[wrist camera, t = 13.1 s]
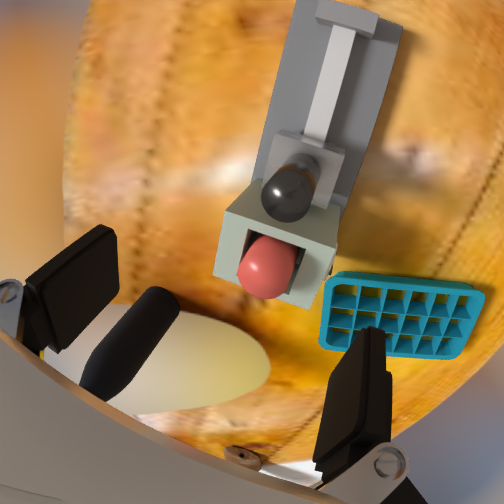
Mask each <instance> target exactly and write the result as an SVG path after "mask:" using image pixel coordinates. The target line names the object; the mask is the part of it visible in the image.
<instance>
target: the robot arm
mask: <svg viewBox="0 0 504 504" xmlns="http://www.w3.org/2000/svg"><path fill="white" fill-rule="evenodd" d="M25 282H26V285H25V286H23V285H22V283H21V282H20V281H18V280H16V279H6V280H3V281H1V282H0V504H428V503H427V502H426V501H425V499H424V498H423V497H422V495H421V494H420V493H419V492H418V490H417V489H416V488H415V487H414V485H413V484H412V483H411V481H410V480H409V479H408V477H407V474H408V472H409V468H410V461H409V458H408V455H407V453H406V452H405V450H404V449H403V448H402V447H400V446H399V445H397V444H395V443H390V441H391V423H392V374H391V372H389V371H386V333H385V330H382V329H379V328H376V327H373V326H368V327H367V329H366V328H362V329H361V330H360V332H359V333H358V335H357V336H356V338H355V339H354V341H353V342H352V344H351V345H350V347H349V348H348V350H347V351H346V353H345V354H344V356H343V357H342V359H341V360H340V362H339V363H338V364H337V366H336V367H335V369H334V370H333V372H332V373H331V375H330V378H329V381H328V387H327V392H326V398H325V403H324V408H323V413H322V418H321V423H320V428H319V432H318V437H317V441H316V446H315V450H314V454H313V460H312V461H313V462H314V463H316V467H315V471H319V472H323V474H322V478H321V479H322V481H323V482H322V483H320V484H319V485H318V486H316V487H315V488H313V489H312V488H309V487H306V486H302V485H299V484H296V483H293V482H290V481H286V480H283V479H279V478H276V477H273V476H270V475H266V474H263V473H260V472H257V471H254V470H251V469H248V468H246V467H243V466H240V465H237V464H234V463H231V462H229V461H226V460H223V459H221V458H218V457H216V456H213V455H210V454H208V453H206V452H203V451H201V450H198V449H196V448H194V447H191V446H189V445H187V444H184V443H182V442H180V441H178V440H176V439H174V438H171V437H169V436H167V435H165V434H163V433H161V432H159V431H157V430H155V429H153V428H151V427H149V426H147V425H145V424H143V423H141V422H139V421H137V420H136V419H134V418H132V417H130V416H128V415H126V414H124V413H123V412H121V411H119V410H118V409H116V408H114V407H112V406H111V405H109V404H107V403H106V402H104V401H102V400H101V399H99V398H97V397H96V396H94V395H93V394H91V393H90V392H88V391H86V390H85V389H83V388H82V387H80V386H79V385H77V384H76V383H74V382H73V381H71V380H70V379H68V378H67V377H65V376H64V375H62V374H61V373H60V372H58V371H57V370H56V369H54V368H53V367H51V366H50V365H48V364H47V363H46V362H44V349H45V348H46V347H47V346H48V347H49V348H50V349H51V350H53V351H54V352H56V353H57V354H59V352H60V351H61V350H62V349H66V348H67V347H69V345H70V344H71V343H72V342H73V341H74V340H75V339H76V338H77V337H78V336H79V334H80V333H81V332H82V331H83V330H84V329H85V328H86V327H87V326H88V325H89V324H90V323H91V321H92V320H93V319H94V318H95V317H96V316H97V315H98V314H99V313H100V312H101V311H102V310H103V309H104V308H105V307H106V306H107V305H108V304H109V303H110V302H111V301H112V300H113V298H114V297H115V296H116V295H117V294H118V292H119V287H120V286H119V272H118V253H117V236H116V234H115V232H114V230H113V229H112V228H109V227H107V226H104V225H102V224H99V225H97V226H96V227H94V228H93V229H92V230H90V231H89V232H87V233H86V234H85V235H83V236H82V237H80V238H79V239H78V240H76V241H75V242H73V243H72V244H71V245H69V246H68V247H67V248H65V249H64V250H63V251H61V252H60V253H59V254H58V255H56V256H55V257H53V258H52V259H51V260H50V261H48V262H47V263H46V264H44V265H43V266H42V267H41V268H39V269H38V270H37V271H36V272H34V273H33V274H32V275H31V276H29V277H28V278H27V279H26V280H25Z"/></svg>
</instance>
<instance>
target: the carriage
mask: <svg viewBox="0 0 504 504" xmlns="http://www.w3.org/2000/svg"><path fill="white" fill-rule="evenodd" d="M344 157H345V149H343V148H340V147H337V146H335V143H332V142H329V143H325V142H322V141H319V140H316V139H313V138H310V137H307V136H304V135H301V134H300V132H298V131H293V132H291V131H287V130H284V129H281V130H279V131H278V132H276V133H275V134H274V138H273V142H272V146H271V150H270V154H269V158H268V161H267V165H266V169H265V173H264V177H263V181H262V185H261V187H262V188H263V189H262V193H261V202H262V205H263V208H264V210H265V211H266V213H267V214H268V215H269V216H270V217H272V218H273V219H275V220H277V221H280V222H284V223H292V222H296V221H298V220H300V219H301V218H303V217H304V216H305V215H306V214H307V212H308V210H309V207H310V205H311V204H313V205H315V206H318V207H321V208H324V209H327V206H328V203H329V200H330V198H331V195H332V192H333V189H334V186H335V183H336V181H337V178H338V175H339V172H340V169H341V166H342V163H343V160H344Z"/></svg>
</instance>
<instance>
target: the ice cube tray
mask: <svg viewBox="0 0 504 504" xmlns="http://www.w3.org/2000/svg"><path fill="white" fill-rule="evenodd" d="M339 284H348V285H357V286H358V289H357V295H356V296H354V295H345V294H336V293H334V291H335V286H336V285H339ZM361 286H367V287H376V288H382V291H381V296H380V298H373V297H364V296H360V292H361ZM387 289H396V290H405V294H404V298H403V300H394V299H385V298H386V294H387ZM413 291H417V292H427V293H428V294H427V297H426V300H425V302H415V301H410V300H411V296H412V292H413ZM437 293H438V294H449V296H448V299H447V302H446V304H438V303H434V300H435V297H436V294H437ZM459 295H461V296H468V299H467V302H466V304H465V306H463V305H456V303H457V300H458V298H459ZM484 302H485V294H484V293H483V292H482V291H480V290H478V289H473V288H472V286H471V285H469V284H467V283H459V282H449V281H439V280H429V279H419V278H409V277H399V276H389V275H379V274H370V273H360V272H350V271H342V272H338V273H337V274H336V275H335V276H333V277H330V278H329V279H328V280H327V281H326V282H325V289H324V299H323V308H322V317H321V326H320V334H319V342H318V343H319V344H320V346H321V347H322V348H324V349H326V350H332V351H341V352H346V351H347V350H348V348H349V347H350V345H351V344H352V342H353V341H354V339H355V338H356V336H357V335H358V334H352V333H353V330H361V329H362V328H366V329H367V327H368V326H373V327H376V328H379V329H382V330H385V333H393V335H392V338H390V337H386V356H391V357H405V358H420V359H439V360H451V359H454V358H456V357H458V356H459V355H460V354H461V352H462V350H463V348H464V346H465V344H466V342H467V340H468V338H469V336H470V334H471V332H472V329H473V327H474V325H475V323H476V321H477V318H478V316H479V314H480V312H481V309H482V307H483V304H484ZM332 307H333V308H342V309H351V310H354V312H353V315H349V314H340V313H332ZM357 310H360V311H369V312H377V313H376V317H368V316H358V315H356V314H357ZM382 313H390V314H399V316H398V319H388V318H381V314H382ZM406 315H412V316H420V318H419V321H411V320H404V319H405V316H406ZM429 317H436V318H440V320H439V323H437V322H427V321H428V318H429ZM450 319H459V322H458V324H451V323H449V321H450ZM330 327H335V328H343V329H350V333H341V332H335V331H333V330H332V329H331V328H330ZM400 334H405V335H413V338H412V339H402V338H399V335H400ZM421 336H432V337H433V338H432V340H431V341H430V340H420V339H421ZM443 337H449V338H451V339H449V340H447V341H441V340H442V338H443Z"/></svg>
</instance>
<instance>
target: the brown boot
mask: <svg viewBox="0 0 504 504" xmlns="http://www.w3.org/2000/svg"><path fill="white" fill-rule="evenodd" d="M223 450H224V455H225V459H226V461H229V462H231V463H234V464H237V465H240V466H243V467H246V468H248V469H251V470H254V471H257V472H258V471H260V469H261V463H260V458H259V457H258V456H256V455H255V454H253V453H252V452H250V451H248V450H246V449H242V448H238V447H224V448H223Z"/></svg>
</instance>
